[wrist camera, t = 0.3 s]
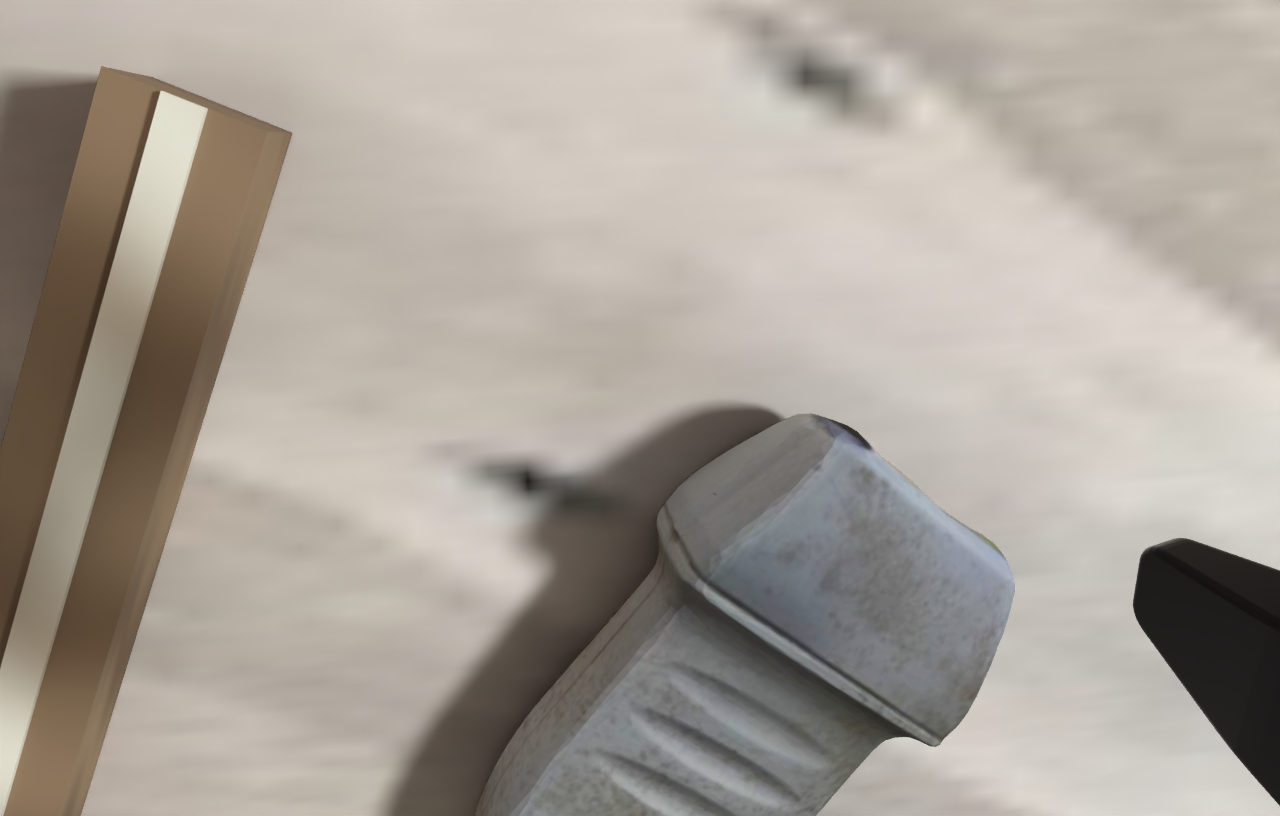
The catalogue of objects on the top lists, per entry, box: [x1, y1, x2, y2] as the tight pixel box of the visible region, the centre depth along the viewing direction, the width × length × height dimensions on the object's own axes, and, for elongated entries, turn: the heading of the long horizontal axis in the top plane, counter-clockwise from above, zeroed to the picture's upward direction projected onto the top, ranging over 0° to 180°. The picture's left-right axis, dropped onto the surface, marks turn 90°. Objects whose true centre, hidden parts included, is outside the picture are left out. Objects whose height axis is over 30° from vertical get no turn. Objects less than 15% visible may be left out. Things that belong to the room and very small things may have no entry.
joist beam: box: [0, 67, 292, 816], centre depth 20 cm, size 24×3×3 cm, turn 157°
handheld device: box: [474, 414, 1015, 816], centre depth 25 cm, size 10×20×5 cm, turn 141°
